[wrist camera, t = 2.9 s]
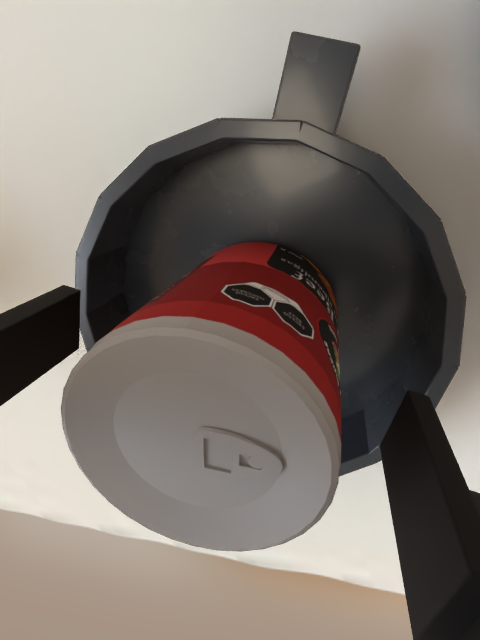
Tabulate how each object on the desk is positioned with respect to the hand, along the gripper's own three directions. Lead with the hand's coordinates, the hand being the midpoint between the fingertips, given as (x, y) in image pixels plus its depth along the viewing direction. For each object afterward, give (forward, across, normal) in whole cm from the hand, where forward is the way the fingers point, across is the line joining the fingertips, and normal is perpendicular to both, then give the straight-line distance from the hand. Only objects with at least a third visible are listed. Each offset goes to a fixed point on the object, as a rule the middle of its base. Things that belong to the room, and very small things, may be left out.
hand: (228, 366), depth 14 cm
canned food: (+6, 0, 0) cm, 6 cm away
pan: (+7, 0, 0) cm, 7 cm away
